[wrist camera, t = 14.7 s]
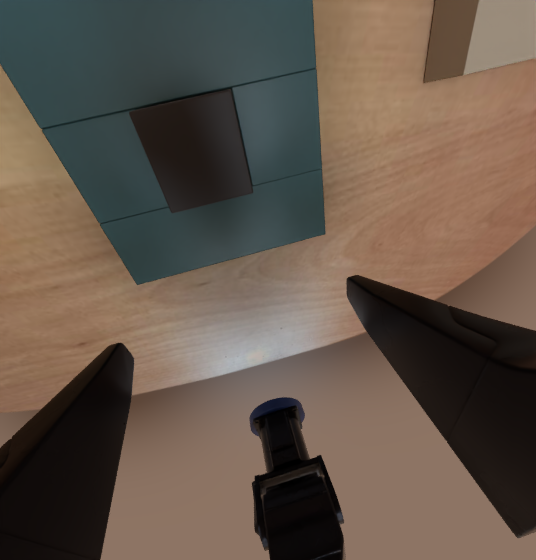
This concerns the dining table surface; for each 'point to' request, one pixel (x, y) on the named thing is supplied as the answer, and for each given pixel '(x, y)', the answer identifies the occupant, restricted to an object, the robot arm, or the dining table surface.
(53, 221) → the dining table surface
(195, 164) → the block
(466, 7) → the electrical outlet
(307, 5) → the teal three-hole plate
